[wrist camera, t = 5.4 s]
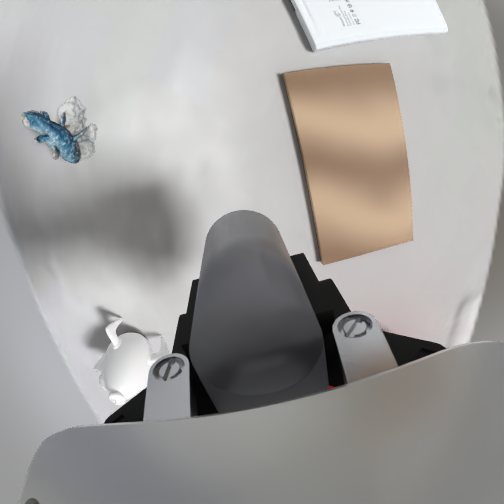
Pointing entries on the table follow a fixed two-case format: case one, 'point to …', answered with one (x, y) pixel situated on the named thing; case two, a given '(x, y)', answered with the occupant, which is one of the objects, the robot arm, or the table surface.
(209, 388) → the connector
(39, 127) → the sculpture
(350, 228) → the wood pad
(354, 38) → the external hard drive
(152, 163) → the table surface
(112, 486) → the robot arm
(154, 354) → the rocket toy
